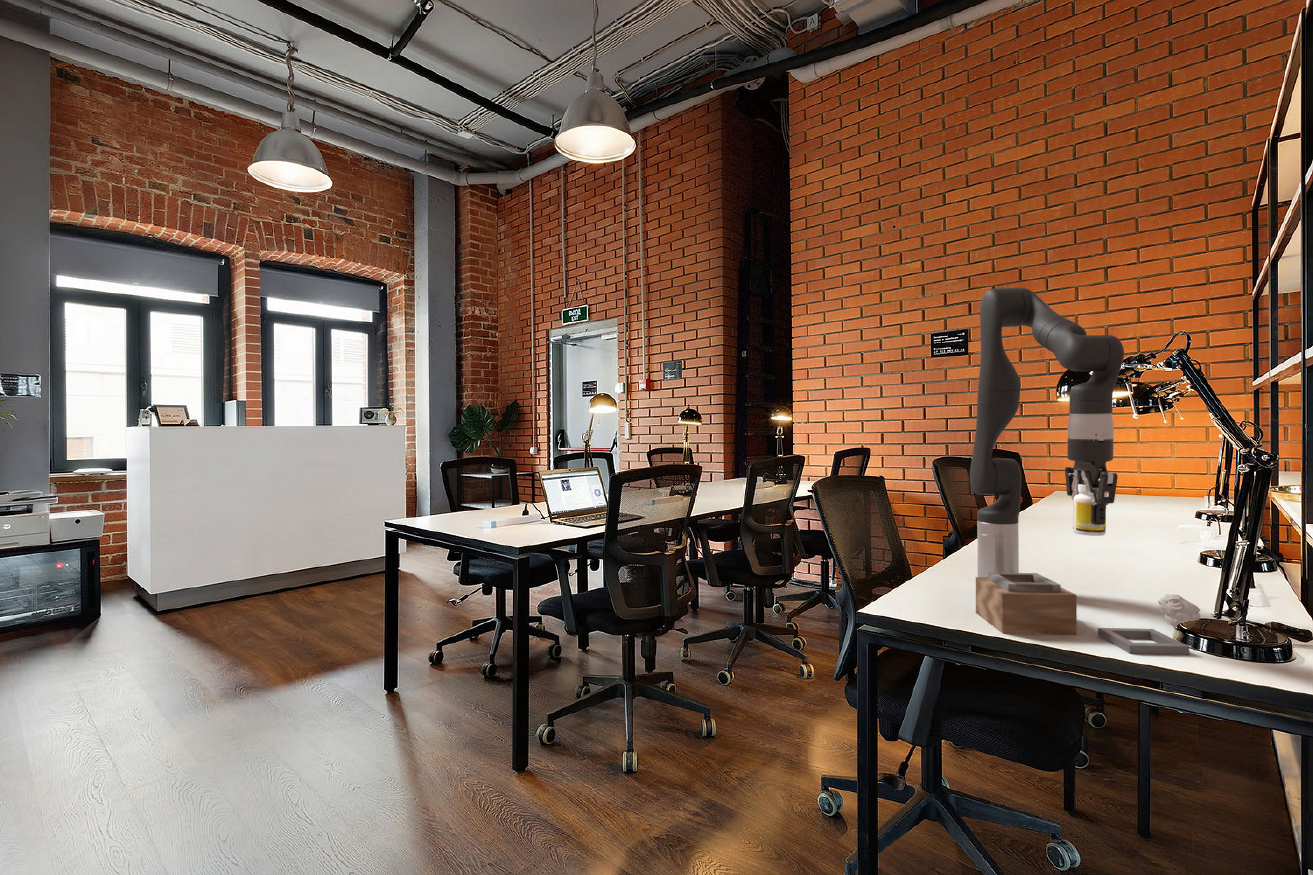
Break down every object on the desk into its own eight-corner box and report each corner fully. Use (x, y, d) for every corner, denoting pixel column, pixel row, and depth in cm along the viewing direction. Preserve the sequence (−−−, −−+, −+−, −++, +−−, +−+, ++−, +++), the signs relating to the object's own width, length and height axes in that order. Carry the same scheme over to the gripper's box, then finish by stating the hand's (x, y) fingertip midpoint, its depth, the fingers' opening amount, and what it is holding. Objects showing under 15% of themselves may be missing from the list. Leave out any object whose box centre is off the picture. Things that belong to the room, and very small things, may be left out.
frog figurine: (1152, 623, 133) (1152, 590, 133) (1192, 626, 131) (1192, 592, 131) (1165, 632, 127) (1165, 597, 127) (1207, 635, 125) (1207, 600, 125)
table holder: (1098, 635, 126) (1098, 627, 126) (1152, 636, 125) (1152, 628, 125) (1129, 653, 116) (1129, 645, 116) (1189, 654, 115) (1189, 646, 115)
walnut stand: (975, 612, 142) (975, 570, 142) (1042, 613, 140) (1042, 571, 140) (1002, 633, 128) (1002, 586, 128) (1076, 634, 126) (1076, 587, 126)
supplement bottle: (1111, 536, 123) (1112, 486, 123) (1080, 536, 124) (1081, 486, 124) (1097, 531, 128) (1097, 483, 128) (1067, 530, 129) (1068, 483, 129)
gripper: (1051, 435, 133) (1050, 515, 134) (1091, 438, 119) (1090, 528, 119) (1089, 434, 132) (1088, 515, 133) (1134, 438, 118) (1132, 528, 119)
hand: (1089, 521), depth 126 cm, fingers closed on supplement bottle, 5 cm apart
